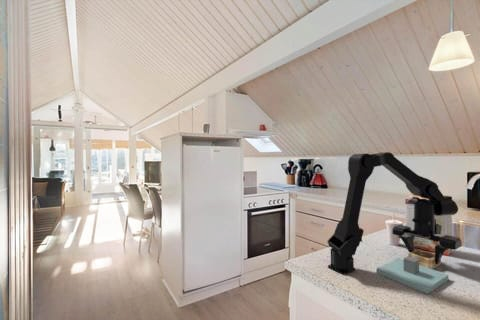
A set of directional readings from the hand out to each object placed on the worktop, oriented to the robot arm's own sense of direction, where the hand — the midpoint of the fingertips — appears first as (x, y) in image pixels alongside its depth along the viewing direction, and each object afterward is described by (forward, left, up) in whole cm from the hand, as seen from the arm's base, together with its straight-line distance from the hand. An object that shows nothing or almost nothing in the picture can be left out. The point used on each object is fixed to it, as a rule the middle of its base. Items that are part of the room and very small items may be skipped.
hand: (424, 260), depth 84 cm
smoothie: (-15, +10, -1) cm, 18 cm away
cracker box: (-5, +16, -1) cm, 17 cm away
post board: (+2, -14, -1) cm, 14 cm away
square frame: (0, 0, -1) cm, 1 cm away
